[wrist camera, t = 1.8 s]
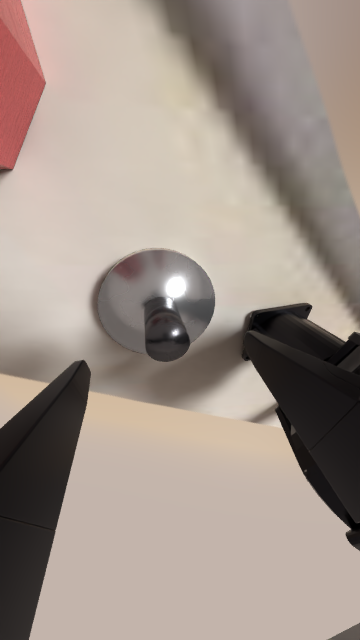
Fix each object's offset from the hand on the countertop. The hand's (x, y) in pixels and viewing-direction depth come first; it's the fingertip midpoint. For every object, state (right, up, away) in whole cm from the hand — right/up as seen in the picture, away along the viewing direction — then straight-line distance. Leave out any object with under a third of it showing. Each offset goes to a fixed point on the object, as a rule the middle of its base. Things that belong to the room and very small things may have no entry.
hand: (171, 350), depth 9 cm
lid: (-1, +3, +5) cm, 6 cm away
